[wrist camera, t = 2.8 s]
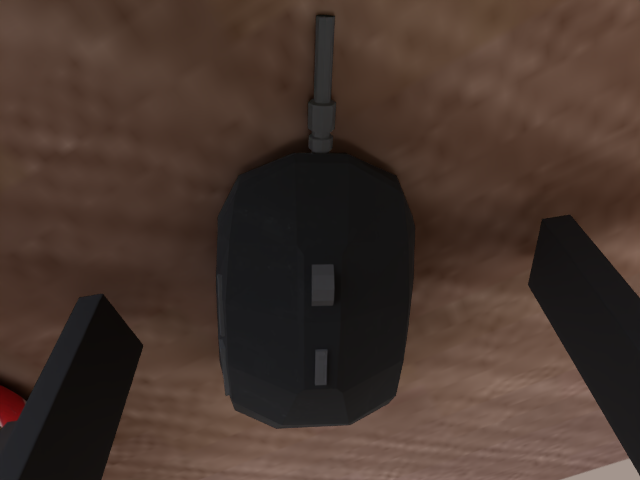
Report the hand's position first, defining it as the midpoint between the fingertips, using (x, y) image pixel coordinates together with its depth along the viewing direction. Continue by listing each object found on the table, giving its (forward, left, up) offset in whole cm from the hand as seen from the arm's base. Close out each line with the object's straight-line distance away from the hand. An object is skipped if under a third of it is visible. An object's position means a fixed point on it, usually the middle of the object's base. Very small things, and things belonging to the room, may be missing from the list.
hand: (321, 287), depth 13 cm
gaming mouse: (0, 0, -1) cm, 1 cm away
